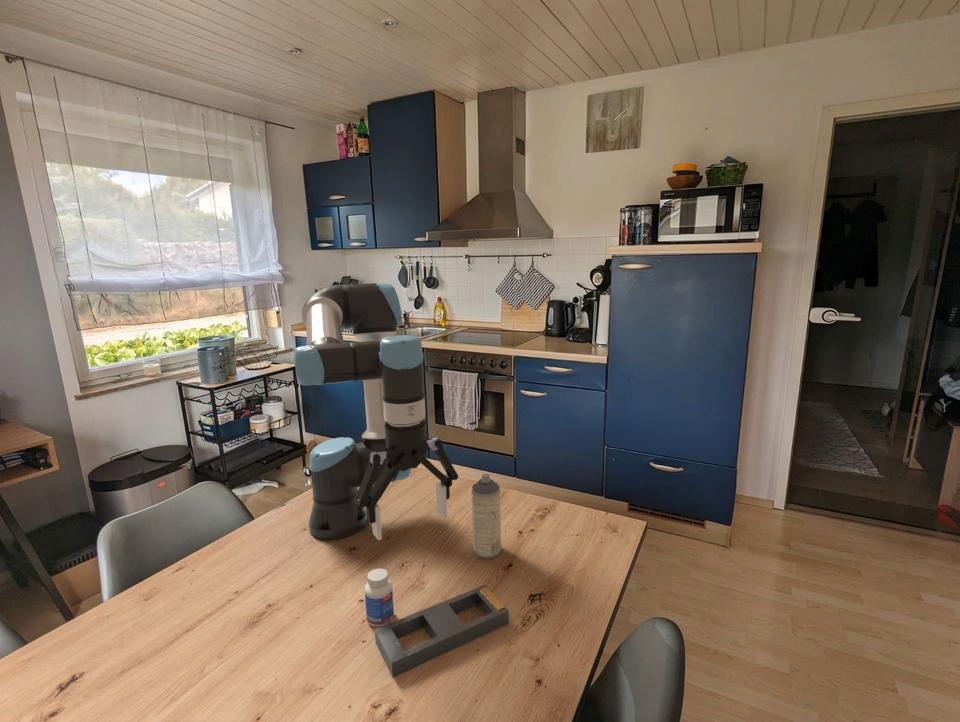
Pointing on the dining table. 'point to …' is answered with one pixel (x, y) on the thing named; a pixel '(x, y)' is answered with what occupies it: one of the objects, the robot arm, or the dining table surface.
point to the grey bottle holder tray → (440, 629)
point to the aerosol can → (486, 518)
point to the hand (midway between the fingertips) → (411, 525)
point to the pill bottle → (379, 598)
